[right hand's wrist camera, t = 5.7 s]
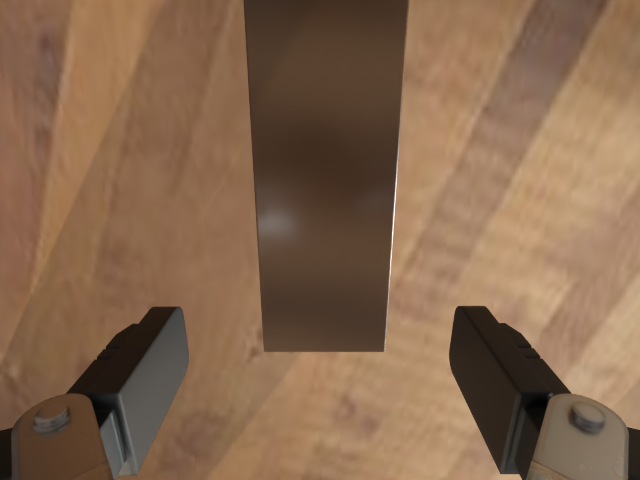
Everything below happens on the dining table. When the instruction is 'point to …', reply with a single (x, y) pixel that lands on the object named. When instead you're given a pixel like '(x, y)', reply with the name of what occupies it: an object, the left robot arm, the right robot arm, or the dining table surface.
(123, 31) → the dining table surface
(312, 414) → the dining table surface
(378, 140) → the bar
